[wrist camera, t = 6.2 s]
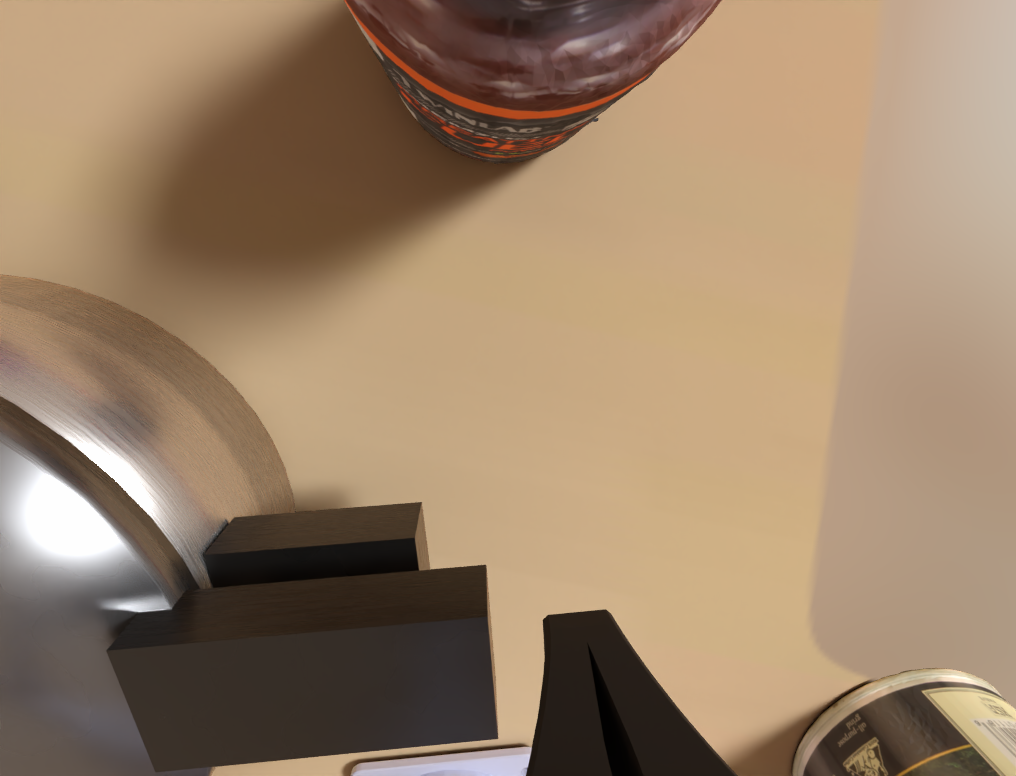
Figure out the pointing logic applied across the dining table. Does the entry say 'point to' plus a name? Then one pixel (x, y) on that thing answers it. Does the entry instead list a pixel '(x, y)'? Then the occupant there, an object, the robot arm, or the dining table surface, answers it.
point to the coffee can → (913, 729)
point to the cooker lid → (208, 641)
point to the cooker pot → (183, 444)
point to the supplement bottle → (520, 63)
